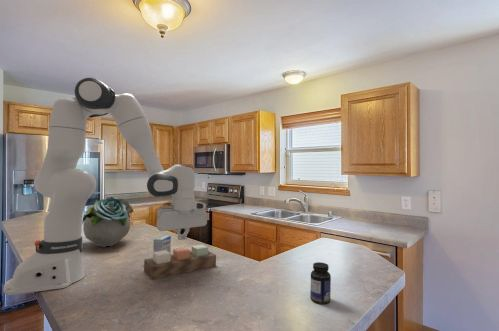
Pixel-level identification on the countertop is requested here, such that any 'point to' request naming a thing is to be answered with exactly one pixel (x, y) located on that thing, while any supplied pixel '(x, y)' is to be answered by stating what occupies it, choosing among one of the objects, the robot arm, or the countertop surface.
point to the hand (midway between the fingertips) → (182, 239)
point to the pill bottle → (320, 283)
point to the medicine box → (162, 243)
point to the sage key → (199, 250)
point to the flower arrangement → (107, 221)
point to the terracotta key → (181, 253)
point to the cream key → (161, 257)
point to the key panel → (178, 265)
